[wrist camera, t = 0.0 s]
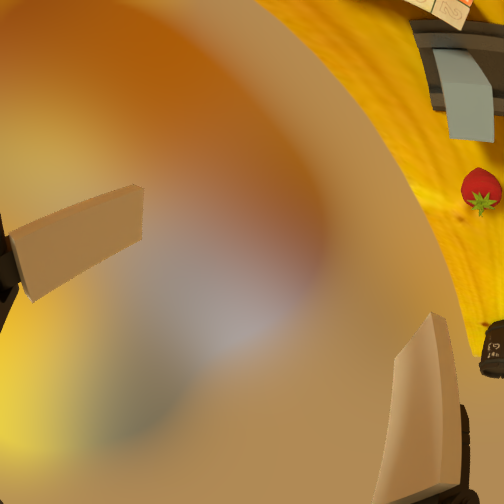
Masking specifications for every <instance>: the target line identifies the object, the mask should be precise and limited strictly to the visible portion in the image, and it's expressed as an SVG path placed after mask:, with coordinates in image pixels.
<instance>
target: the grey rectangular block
mask: <svg viewBox="0 0 504 504" xmlns="http://www.w3.org/2000/svg"><path fill="white" fill-rule="evenodd" d="M432 49H433V53H434V56H435V60H436V64H437V68H438V73H439V77H440V82H441V87H442V92H443V97H444V102H445V107H446V113H447V120H448V127H449V135H450V138H451V139H464V140H474V141H483V142H492V143H494V109H493V95H492V86H491V84H490V83H489V81H488V79H487V78H486V76H485V75H484V73H483V72H482V70H481V69H480V67H479V66H478V64H477V63H476V61H475V60H474V59H473V57H472V56H471V54H470V53H469V52H468V50H467V49H464V48H432Z"/></svg>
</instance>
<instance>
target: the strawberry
mask: <svg viewBox="0 0 504 504" xmlns="http://www.w3.org/2000/svg"><path fill="white" fill-rule="evenodd" d="M461 193H462V196H463V199H464V201H465V202H466V203H467V204H468V205H470V206H471V207H473V208H472V209H471V210H477V209H479V216H480V215H482V213H483V211H484V210H485V209H495V208H493V207H494V206H496V205H497V204H498V203H499V202H500V200H501V196H502V188H501V186H500V184H499V182H498V181H497V179H496V178H495V176H493V175H492V174H491V173H489V172H488V171H486V170H484V169H482V168H476V169H474V170H472V171H471V172H470V173H469V174H468V175H467V176H466V177H465V179H464V181H463V184H462V187H461Z"/></svg>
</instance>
